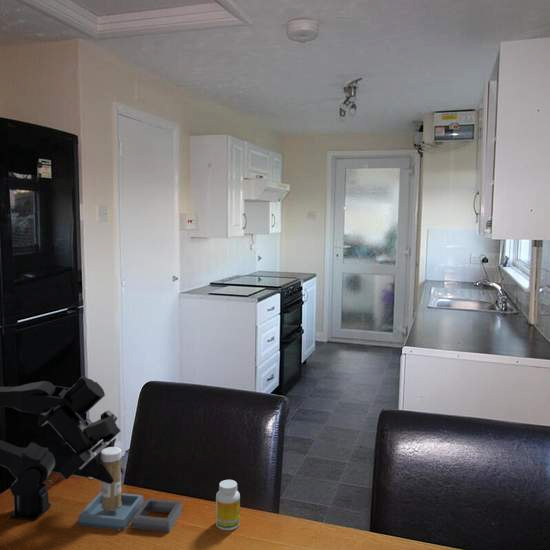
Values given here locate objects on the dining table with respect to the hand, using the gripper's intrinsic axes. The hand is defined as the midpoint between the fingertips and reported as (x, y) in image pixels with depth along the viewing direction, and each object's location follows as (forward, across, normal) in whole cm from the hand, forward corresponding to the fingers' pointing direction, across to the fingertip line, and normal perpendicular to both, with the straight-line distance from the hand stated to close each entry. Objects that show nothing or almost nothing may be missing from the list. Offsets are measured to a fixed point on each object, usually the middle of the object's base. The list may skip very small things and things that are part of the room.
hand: (116, 477), depth 122 cm
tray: (+6, 0, +7) cm, 9 cm away
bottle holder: (+13, 0, -1) cm, 13 cm away
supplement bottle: (+25, +1, -12) cm, 27 cm away
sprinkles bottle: (+4, 0, +6) cm, 7 cm away
